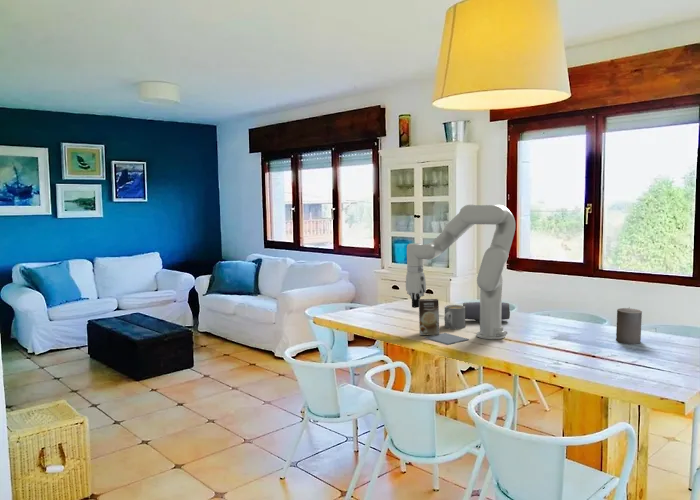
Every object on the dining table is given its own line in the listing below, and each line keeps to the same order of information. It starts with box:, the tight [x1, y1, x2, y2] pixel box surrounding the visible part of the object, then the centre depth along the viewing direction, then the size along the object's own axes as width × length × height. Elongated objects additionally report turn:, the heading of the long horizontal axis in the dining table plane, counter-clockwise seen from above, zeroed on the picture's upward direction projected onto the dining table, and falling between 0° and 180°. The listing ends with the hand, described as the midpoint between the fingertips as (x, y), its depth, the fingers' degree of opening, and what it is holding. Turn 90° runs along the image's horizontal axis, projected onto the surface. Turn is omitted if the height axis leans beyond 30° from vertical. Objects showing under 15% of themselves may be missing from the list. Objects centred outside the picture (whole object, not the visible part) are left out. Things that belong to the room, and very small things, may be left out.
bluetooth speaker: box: [462, 301, 511, 323], centre depth 285 cm, size 23×9×10 cm, turn 84°
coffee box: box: [418, 298, 440, 336], centre depth 258 cm, size 9×6×16 cm
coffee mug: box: [443, 304, 466, 330], centre depth 272 cm, size 13×10×10 cm
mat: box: [424, 332, 470, 346], centre depth 250 cm, size 15×13×1 cm
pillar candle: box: [615, 307, 643, 345], centre depth 240 cm, size 10×10×15 cm
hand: (415, 307), depth 266 cm, fingers closed
